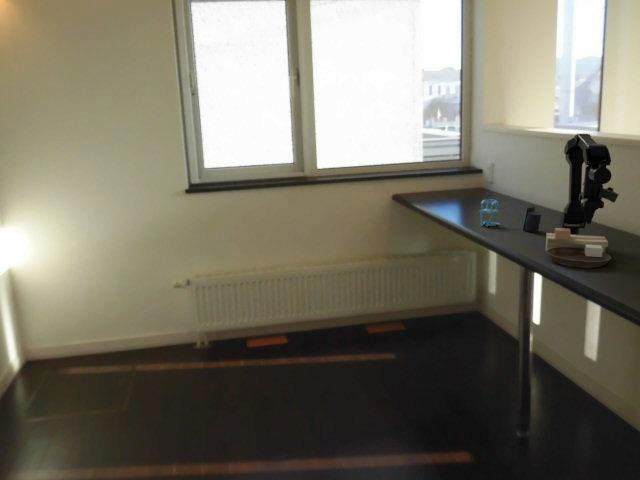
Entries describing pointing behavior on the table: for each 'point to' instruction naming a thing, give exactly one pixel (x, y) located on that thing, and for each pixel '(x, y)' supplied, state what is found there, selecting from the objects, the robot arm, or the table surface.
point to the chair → (489, 212)
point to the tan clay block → (562, 233)
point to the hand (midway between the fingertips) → (588, 223)
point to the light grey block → (593, 250)
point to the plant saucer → (576, 257)
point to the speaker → (532, 220)
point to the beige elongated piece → (575, 241)
